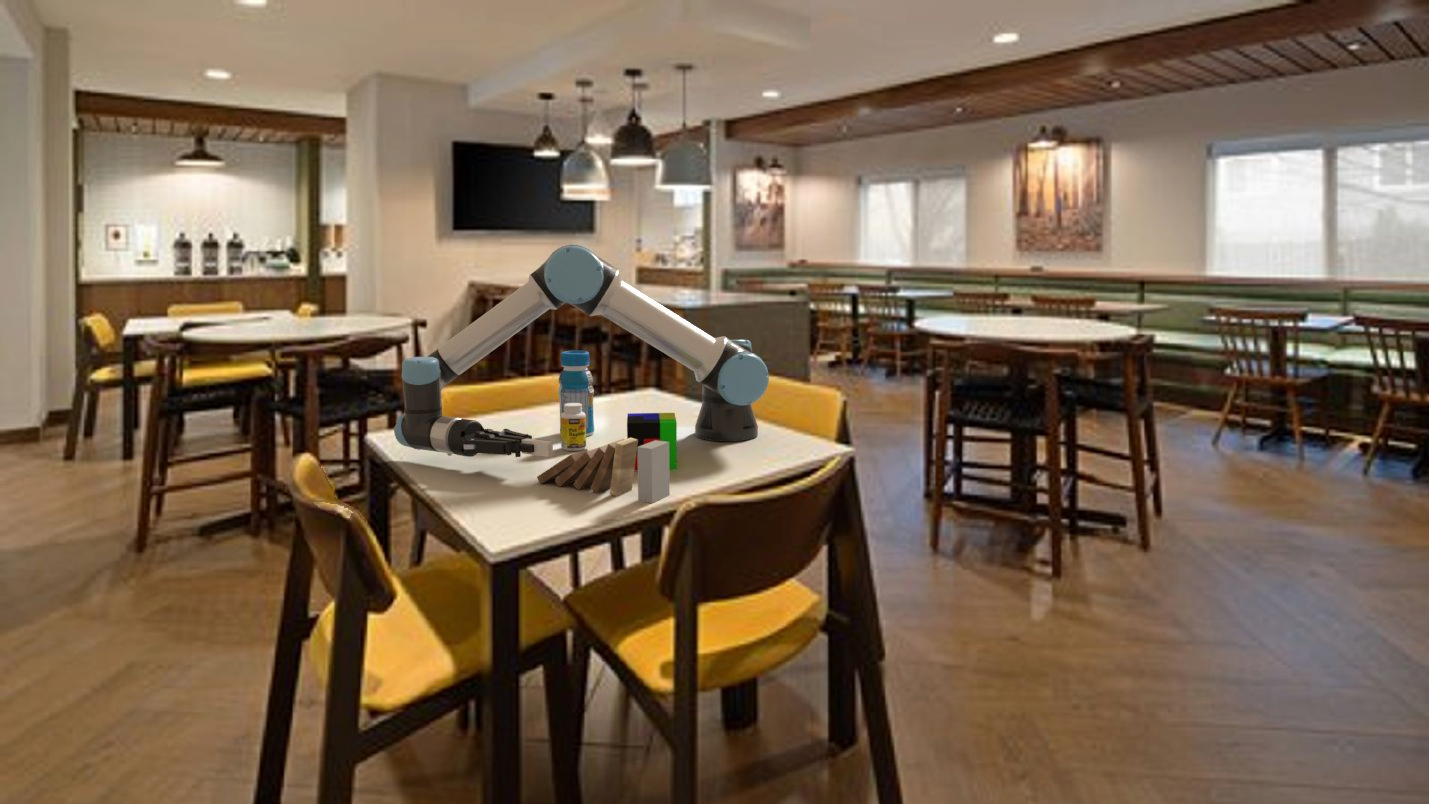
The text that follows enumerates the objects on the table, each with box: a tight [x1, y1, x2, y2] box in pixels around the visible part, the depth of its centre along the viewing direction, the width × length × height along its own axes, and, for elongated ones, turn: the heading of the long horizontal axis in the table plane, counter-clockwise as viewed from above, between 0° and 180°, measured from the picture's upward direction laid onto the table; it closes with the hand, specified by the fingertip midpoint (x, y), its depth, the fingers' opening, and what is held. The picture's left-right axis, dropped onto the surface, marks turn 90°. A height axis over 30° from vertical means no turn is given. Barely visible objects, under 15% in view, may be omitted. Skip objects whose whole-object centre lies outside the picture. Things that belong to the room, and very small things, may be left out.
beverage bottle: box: [557, 350, 595, 437], centre depth 210 cm, size 8×8×20 cm
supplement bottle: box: [560, 403, 587, 452], centre depth 197 cm, size 6×6×10 cm
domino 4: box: [590, 438, 626, 494], centre depth 164 cm, size 2×5×10 cm, turn 155°
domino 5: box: [609, 438, 638, 497], centre depth 162 cm, size 2×5×10 cm, turn 153°
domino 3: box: [572, 443, 609, 491], centre depth 165 cm, size 2×5×10 cm
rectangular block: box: [637, 440, 671, 504], centre depth 159 cm, size 3×6×10 cm, turn 152°
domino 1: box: [536, 448, 589, 485], centre depth 169 cm, size 2×5×10 cm
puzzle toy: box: [626, 412, 678, 472], centre depth 184 cm, size 10×10×10 cm
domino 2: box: [554, 446, 600, 488], centre depth 167 cm, size 2×5×10 cm
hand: (550, 449), depth 170 cm, fingers closed
